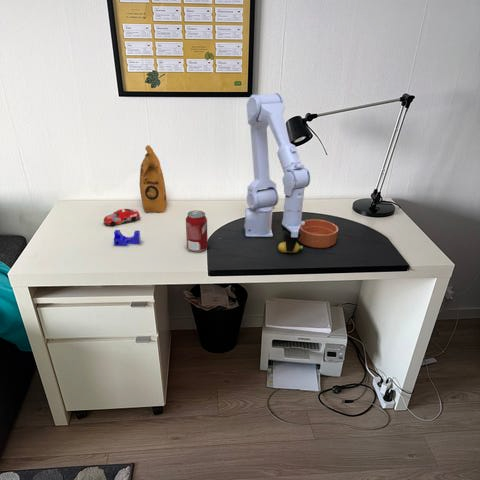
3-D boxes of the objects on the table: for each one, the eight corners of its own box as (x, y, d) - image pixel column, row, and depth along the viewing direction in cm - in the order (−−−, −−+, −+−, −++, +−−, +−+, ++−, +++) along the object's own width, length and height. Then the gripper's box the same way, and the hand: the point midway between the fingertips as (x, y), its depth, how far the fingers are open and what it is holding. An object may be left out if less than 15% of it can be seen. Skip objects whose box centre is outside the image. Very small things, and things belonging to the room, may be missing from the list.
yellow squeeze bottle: (278, 254, 142) (279, 244, 140) (277, 249, 145) (278, 240, 143) (302, 254, 143) (304, 245, 141) (301, 249, 146) (302, 240, 144)
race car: (107, 228, 154) (105, 217, 152) (101, 222, 158) (100, 212, 156) (142, 220, 160) (140, 210, 158) (136, 215, 164) (135, 205, 162)
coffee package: (140, 213, 166) (133, 153, 153) (142, 201, 176) (136, 144, 163) (166, 213, 167) (162, 153, 154) (167, 201, 177) (163, 144, 164)
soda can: (199, 255, 140) (198, 219, 133) (182, 249, 143) (181, 214, 136) (211, 247, 145) (211, 212, 138) (195, 242, 148) (194, 208, 141)
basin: (300, 249, 146) (302, 235, 143) (294, 232, 157) (296, 219, 154) (339, 249, 147) (341, 235, 144) (331, 232, 157) (333, 219, 155)
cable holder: (114, 245, 143) (112, 234, 141) (117, 241, 146) (115, 229, 144) (139, 246, 144) (137, 235, 141) (141, 241, 146) (139, 230, 144)
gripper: (310, 218, 129) (304, 258, 137) (302, 200, 141) (297, 238, 149) (286, 217, 129) (282, 258, 137) (280, 199, 141) (277, 238, 149)
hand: (288, 248), depth 143 cm, fingers closed on yellow squeeze bottle, 3 cm apart
